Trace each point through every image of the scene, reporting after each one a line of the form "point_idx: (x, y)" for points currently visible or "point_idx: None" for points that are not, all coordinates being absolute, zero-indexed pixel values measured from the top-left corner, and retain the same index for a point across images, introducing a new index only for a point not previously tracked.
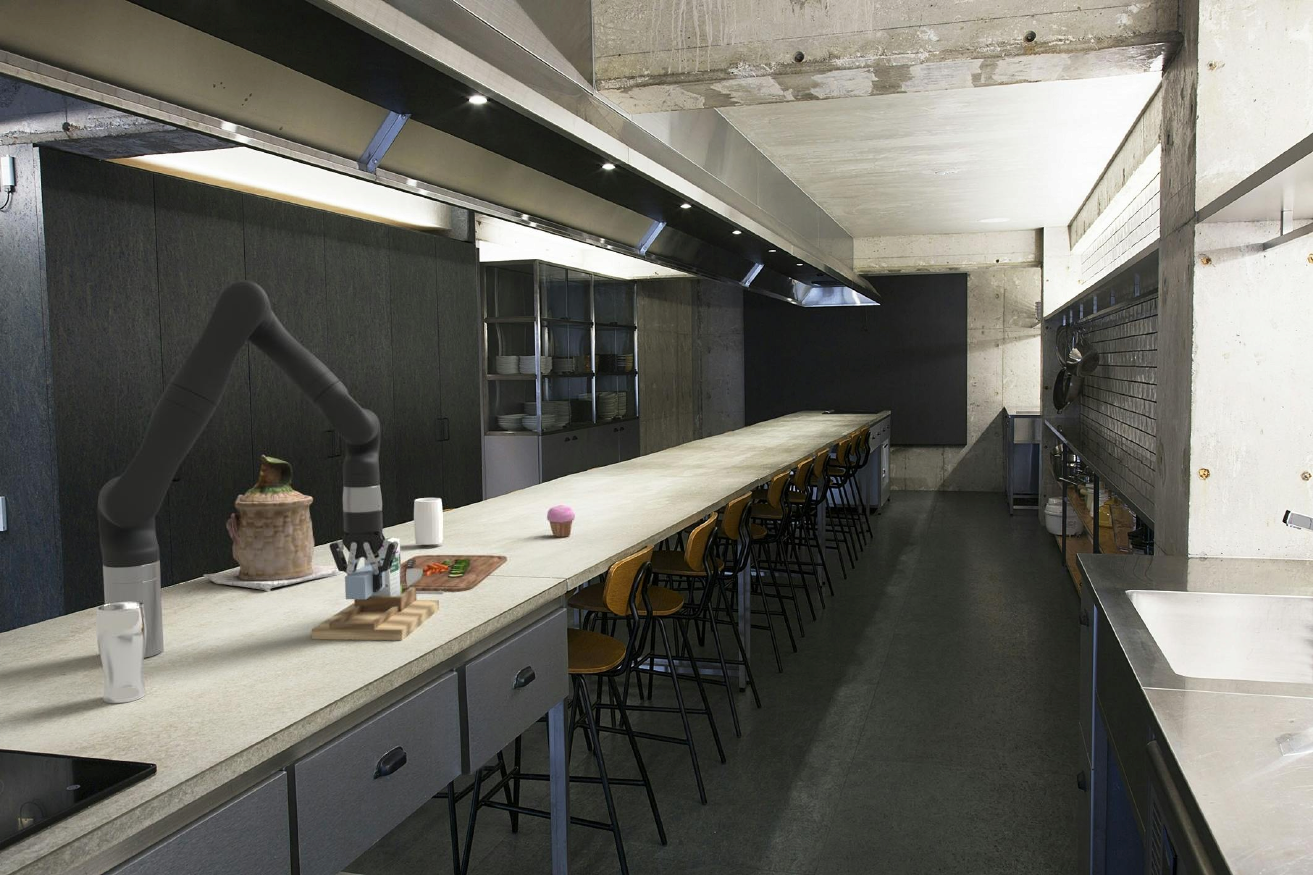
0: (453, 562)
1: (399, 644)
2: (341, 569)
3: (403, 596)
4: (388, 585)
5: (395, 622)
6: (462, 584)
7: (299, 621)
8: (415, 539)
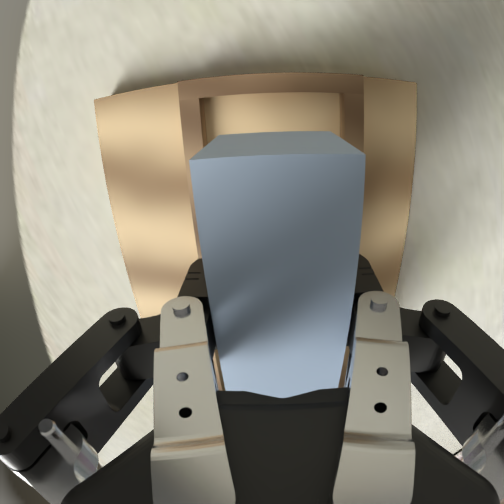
0: None
1: (99, 59)
2: (433, 306)
3: None
4: None
5: (153, 181)
6: None
7: (478, 265)
8: None
